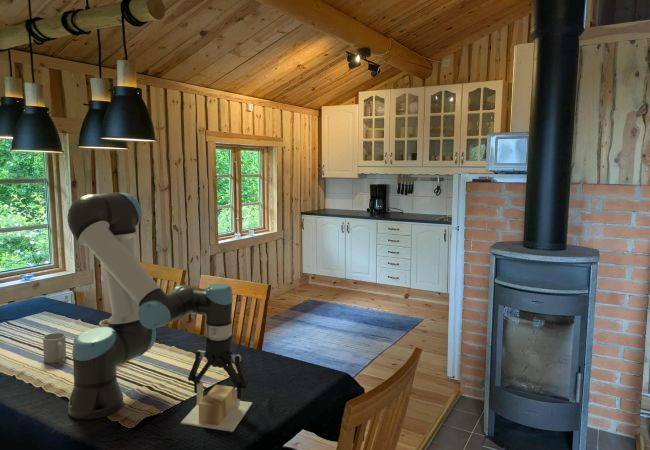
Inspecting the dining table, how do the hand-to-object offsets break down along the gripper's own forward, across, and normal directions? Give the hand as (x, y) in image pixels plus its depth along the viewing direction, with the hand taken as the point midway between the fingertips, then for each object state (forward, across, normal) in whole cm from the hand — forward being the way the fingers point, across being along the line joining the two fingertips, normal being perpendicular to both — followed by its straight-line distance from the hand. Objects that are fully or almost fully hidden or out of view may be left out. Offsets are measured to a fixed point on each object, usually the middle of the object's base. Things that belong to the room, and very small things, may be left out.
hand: (218, 405), depth 144 cm
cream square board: (+3, 0, 0) cm, 3 cm away
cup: (+3, -72, +19) cm, 75 cm away
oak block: (-1, 0, -7) cm, 7 cm away
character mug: (+3, -57, +29) cm, 64 cm away
